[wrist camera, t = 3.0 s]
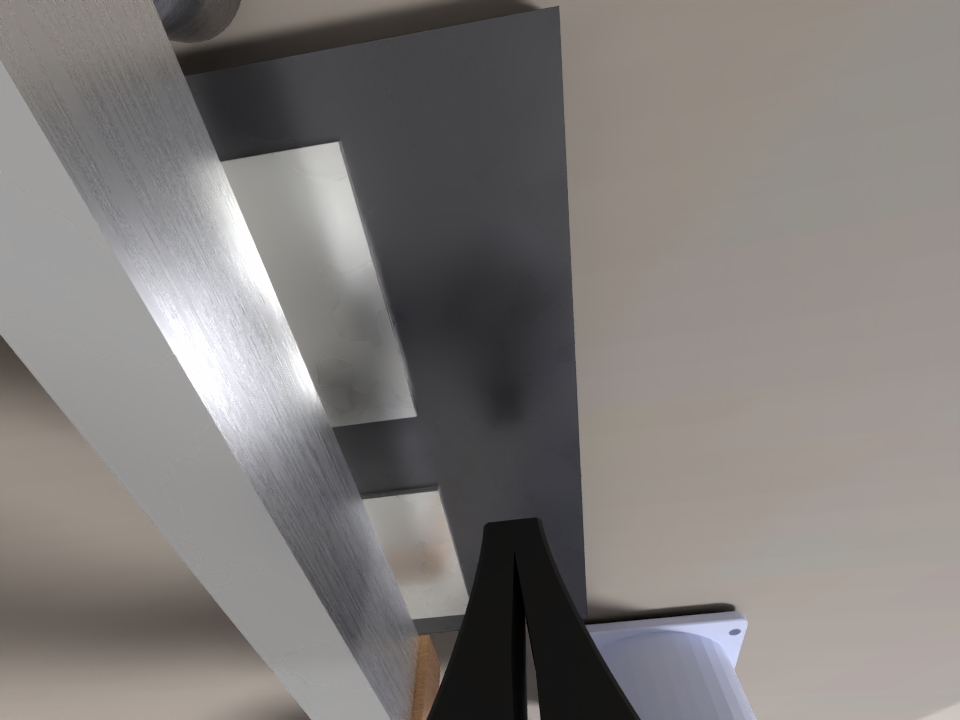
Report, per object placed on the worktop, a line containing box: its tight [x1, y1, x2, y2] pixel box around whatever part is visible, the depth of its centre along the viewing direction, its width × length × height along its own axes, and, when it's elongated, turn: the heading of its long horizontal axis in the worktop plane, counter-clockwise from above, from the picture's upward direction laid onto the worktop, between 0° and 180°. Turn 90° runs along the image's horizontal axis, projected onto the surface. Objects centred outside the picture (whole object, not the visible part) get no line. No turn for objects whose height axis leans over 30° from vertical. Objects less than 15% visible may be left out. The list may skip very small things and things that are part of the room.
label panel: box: [152, 0, 587, 634], centre depth 12 cm, size 23×14×3 cm, turn 9°
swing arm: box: [0, 0, 441, 720], centre depth 9 cm, size 22×3×3 cm, turn 9°
